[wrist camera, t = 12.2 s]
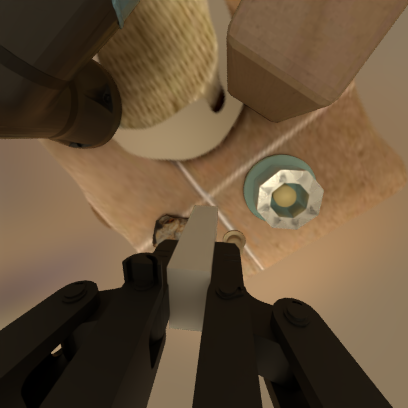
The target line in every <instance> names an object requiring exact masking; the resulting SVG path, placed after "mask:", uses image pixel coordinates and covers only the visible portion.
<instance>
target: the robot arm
mask: <svg viewBox="0 0 408 408" xmlns="http://www.w3.org/2000/svg"><path fill="white" fill-rule="evenodd" d="M139 2H140V0H0V139H29V138H31V139H33V138H48V139H51V140H53V141H56V142H59V143H61V144H64V145H66V146H69V147H73V148H82V149H83V148H95V147H98V146H101V145H103V144H105V143H106V142H108V141H109V140H110V139H111V138H112V137H113V135H114V134H115V132H116V131H117V129H118V126H119V123H120V119H121V99H120V95H119V92H118V89H117V86H116V84H115V82H114V80H113V79H112V77H111V76H110V74H109V73H108V72H107V71H106V69H105V68H104V67H102V66H101V65H100V64H99V63H98V62H96V61H94V60H93V59H92V58H93V57H94V56H95V54H96V53H97V52H98V51H99V50H100V49H101V48H102V47H103V46H104V45H105V43H106V42H107V41H108V40H109V39H110V38H111V37H112V36H113V35H114V33H115V32H116V31H117V30H118V29H119V28H120V29H122V28H123V26H124V21H125V20H126V18H127V17H128V16H129V14H130V13H131V12H132V11H133V9H134V8H135V7H136V5H137V4H138V3H139ZM217 219H218V206H199V205H195V206H194V208H193V210H192V213H191V215H190V217H189V219H188V221H187V224H186V226H185V228H184V230H183V233H182V235H181V237H180V239H179V240H172V239H165V240H164V241H162V242H161V243H159V244H158V246H157V247H156V249H155V251H154V252H153V253H138V254H134V255H132V256H130V257H128V258H126V259H125V260H124V261H123V262H122V264H123V272H124V280H125V283H124V284H123V286H122V287H121V288H116V289H112V290H104V291H98V287H97V284H96V283H94V282H92V281H86V280H85V281H78V282H74V283H71V284H69V285H66V286H65V287H63V288H61V289H59V290H58V291H57V292H55V293H54V294H52V295H51V296H49V297H48V298H46V299H45V300H44V301H42V302H41V303H39V304H38V305H36V306H35V307H33V308H32V309H31V310H29V311H28V312H26V313H25V314H23V315H22V316H21V317H19V318H18V319H16V320H15V321H13V322H12V323H10V324H9V325H8V326H6V327H5V328H3V329H2V330H0V408H146V407H147V404H148V400H149V397H150V393H151V390H152V387H153V383H154V380H155V376H156V373H157V369H158V366H159V362H160V359H161V355H162V352H163V348H164V345H165V340H166V326H167V323H168V320H169V327H170V328H174V329H184V330H193V331H201V332H202V335H201V343H200V350H199V359H198V366H197V374H196V382H195V390H194V397H193V406H192V408H262V400H261V392H260V384H259V377H258V375H260V376H262V377H264V381H265V384H266V387H267V390H268V392H269V395H270V398H271V401H272V403H273V406H274V408H393V407H392V406H391V405H390V404H389V402H388V401H387V400H386V399H385V397H384V396H383V395H382V393H381V392H380V391H379V390H378V388H377V387H376V386H375V385H374V383H373V382H372V381H371V380H370V378H369V377H368V376H367V375H366V373H365V372H364V371H363V370H362V368H361V367H360V366H359V364H358V363H357V362H356V361H355V359H354V358H353V357H352V356H351V354H350V353H349V352H348V351H347V349H346V348H345V347H344V346H343V344H342V343H341V342H340V341H339V339H338V338H337V337H336V336H335V334H334V333H333V332H332V331H331V329H330V328H329V327H328V325H327V324H326V323H325V322H324V320H323V319H322V318H321V317H320V315H319V314H318V313H317V312H316V311H315V310H314V309H313V308H312V307H311V306H309V305H307V304H306V303H304V302H302V301H300V300H297V299H294V298H283V299H279V300H277V301H276V302H275V303H274V305H270V304H267V303H264V302H262V301H259V300H257V299H256V298H254V297H252V296H251V295H250V294H249V293H248V292H247V291H246V288H245V287H244V283H243V274H242V265H241V257H240V249H239V248H238V246H237V245H236V244H235V243H226V242H217ZM59 344H61V347H62V348H61V349H60V350H58V351H57V352H55V353H54V354H51V352H52V351H53V350H54V349H55V348H56V347H57V346H58V345H59Z"/></svg>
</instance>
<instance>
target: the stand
mask: <svg viewBox="0 0 408 408" xmlns="http://www.w3.org/2000/svg"><path fill="white" fill-rule="evenodd" d="M223 242H226V243H235V244H236V245H237V246H238V248H239V249H240V256H241V255H242V253H243V247H244V245H245V237H244V235H243V234H242V233H241V232H239V231H236V230H232V231H229V232H227V233H226V234H225V236H224V238H223Z"/></svg>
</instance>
